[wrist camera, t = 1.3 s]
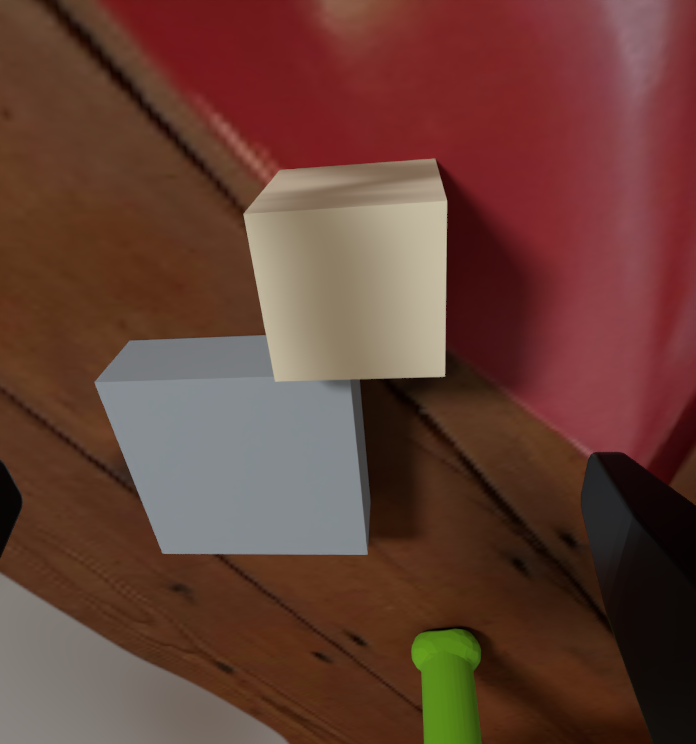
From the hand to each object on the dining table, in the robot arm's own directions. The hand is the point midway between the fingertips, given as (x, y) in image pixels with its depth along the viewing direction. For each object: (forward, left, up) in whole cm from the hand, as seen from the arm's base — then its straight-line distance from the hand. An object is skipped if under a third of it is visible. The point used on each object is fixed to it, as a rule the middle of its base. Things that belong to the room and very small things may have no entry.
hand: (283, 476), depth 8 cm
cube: (-1, 0, -12) cm, 12 cm away
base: (+4, +8, -12) cm, 15 cm away
